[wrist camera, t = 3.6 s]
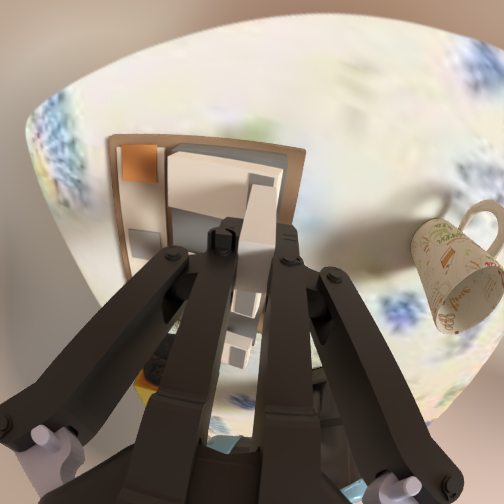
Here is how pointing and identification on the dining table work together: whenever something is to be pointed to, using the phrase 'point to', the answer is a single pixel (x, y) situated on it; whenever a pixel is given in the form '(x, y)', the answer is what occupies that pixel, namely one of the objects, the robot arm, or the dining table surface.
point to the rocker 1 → (216, 183)
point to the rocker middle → (244, 302)
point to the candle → (154, 370)
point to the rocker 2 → (236, 350)
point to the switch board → (177, 220)
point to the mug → (459, 270)
